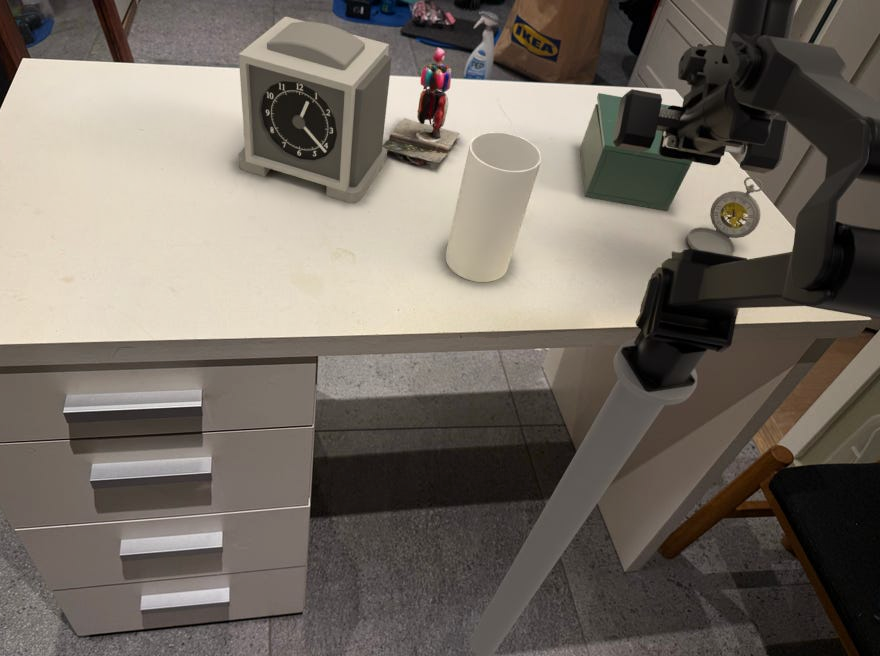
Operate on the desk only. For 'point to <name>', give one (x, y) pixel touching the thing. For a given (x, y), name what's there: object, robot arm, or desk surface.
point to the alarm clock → (315, 106)
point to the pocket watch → (734, 206)
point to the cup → (491, 205)
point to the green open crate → (627, 173)
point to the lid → (608, 119)
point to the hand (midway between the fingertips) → (670, 151)
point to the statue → (433, 105)
